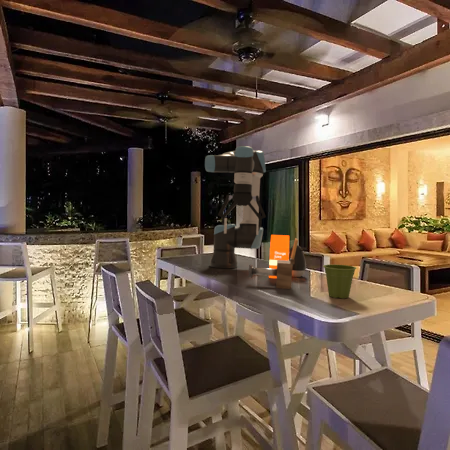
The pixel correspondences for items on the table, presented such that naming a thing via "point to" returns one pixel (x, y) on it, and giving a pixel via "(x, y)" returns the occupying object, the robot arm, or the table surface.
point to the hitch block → (284, 273)
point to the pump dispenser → (298, 262)
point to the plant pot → (339, 280)
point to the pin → (262, 271)
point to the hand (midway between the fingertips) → (241, 234)
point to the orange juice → (278, 250)
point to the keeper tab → (294, 248)
